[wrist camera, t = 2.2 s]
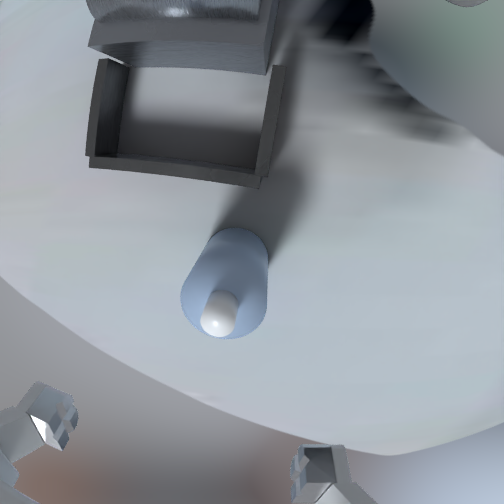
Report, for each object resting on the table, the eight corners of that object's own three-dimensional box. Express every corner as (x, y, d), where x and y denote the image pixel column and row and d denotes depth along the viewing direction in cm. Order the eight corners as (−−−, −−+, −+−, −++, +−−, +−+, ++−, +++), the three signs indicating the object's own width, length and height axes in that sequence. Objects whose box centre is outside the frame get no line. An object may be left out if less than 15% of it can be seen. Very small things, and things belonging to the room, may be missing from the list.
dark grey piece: (298, -11, 16) (313, -87, 7) (265, 182, 22) (262, 214, 12) (142, -15, 16) (84, -70, 7) (107, 162, 22) (22, 182, 12)
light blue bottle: (273, 233, 23) (274, 288, 15) (262, 292, 25) (257, 366, 16) (207, 222, 23) (172, 270, 15) (201, 281, 25) (170, 349, 16)
